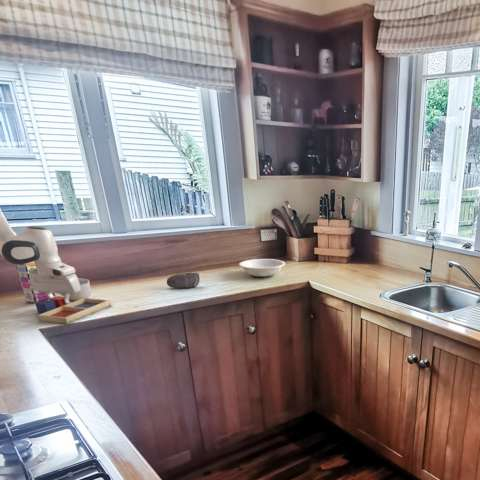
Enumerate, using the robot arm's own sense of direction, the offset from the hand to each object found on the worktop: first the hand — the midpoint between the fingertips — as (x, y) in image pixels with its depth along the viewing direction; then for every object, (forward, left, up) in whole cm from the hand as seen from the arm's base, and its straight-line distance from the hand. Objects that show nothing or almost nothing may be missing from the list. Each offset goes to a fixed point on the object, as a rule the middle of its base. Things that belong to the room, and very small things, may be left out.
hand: (60, 302), depth 189 cm
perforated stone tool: (+29, +43, -3) cm, 52 cm away
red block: (0, 0, -3) cm, 2 cm away
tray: (+10, -4, -3) cm, 11 cm away
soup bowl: (+55, +77, -3) cm, 94 cm away
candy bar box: (-18, +9, -3) cm, 20 cm away
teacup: (-5, +13, -3) cm, 14 cm away
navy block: (-1, -6, -3) cm, 7 cm away
